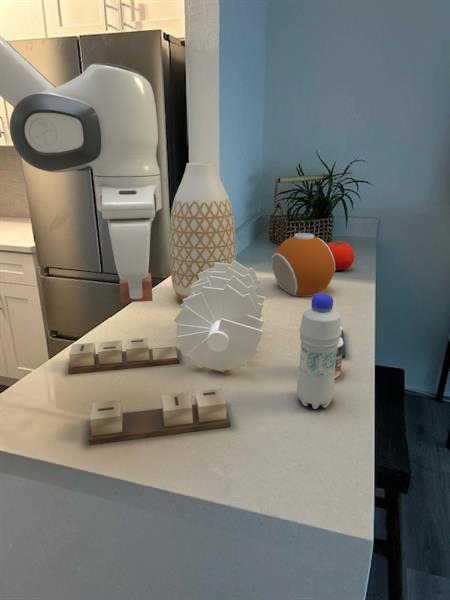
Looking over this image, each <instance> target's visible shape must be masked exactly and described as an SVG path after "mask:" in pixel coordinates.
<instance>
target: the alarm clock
mask: <svg viewBox="0 0 450 600" xmlns="http://www.w3.org/2000/svg"><path fill="white" fill-rule="evenodd" d="M271 269H272V273H273V275H274V277H275V280H276V282H277V284H278V285H279V287H280V289H282V290H284V291H285V292H287V293H289V294H290V295H292V296H298V297H313V296H314V295H316V294H321V293H322V291H323V290H325V289H326V288H327V287H328V286H329V285H330V283H331V281H332V279H333V277H334V275H335V272H336V270H335V261H334V257H333V254H332V252H331V251H330V249H329V247H328V246H327V243H326V242H325V241H324V240H323V239H321V238H319V237H317V236H315V235H314V234H313V233H309V232H298V233H295V234H294V236H290V237H289V238H287V239H285V240H284V241H283V242H282V243H281V244H280V245H279V246H278V247H277V248H276V250H275V251H274V252H273V254H272V256H271Z"/></svg>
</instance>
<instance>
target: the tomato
mask: <svg viewBox="0 0 450 600" xmlns="http://www.w3.org/2000/svg"><path fill="white" fill-rule="evenodd" d="M326 244H327V246H328V247H329V249H330V251H331V252H332V254H333V257H334V261H335V272H336V271H345V270H348V269H349V268H350V267H351V266H352V265H353V263H354V261H355V253H354V250H353V248H352V247H351V245H350V244H348V243H347V242H346V241H340V240H337V241H336V239H334V241H333V242H327V243H326Z"/></svg>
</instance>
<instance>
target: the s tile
mask: <svg viewBox="0 0 450 600" xmlns="http://www.w3.org/2000/svg"><path fill="white" fill-rule="evenodd" d="M152 283H153V282H152V274H151V272H148V275H147V277H146V278H144V279H142V295H143V296H142V298H140V299H131V298H130V295H129V286H128V282H127V280H122V279H120V278H119V293H120V303H122V304H126V303H139V302H152V301H154V299H153V298H154V297H153V285H152Z"/></svg>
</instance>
